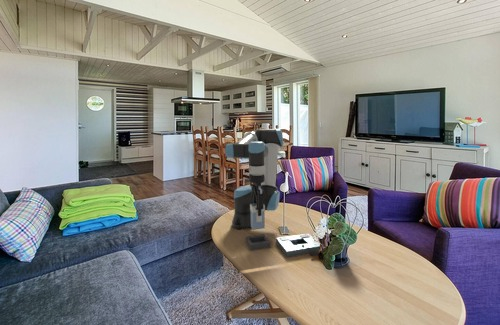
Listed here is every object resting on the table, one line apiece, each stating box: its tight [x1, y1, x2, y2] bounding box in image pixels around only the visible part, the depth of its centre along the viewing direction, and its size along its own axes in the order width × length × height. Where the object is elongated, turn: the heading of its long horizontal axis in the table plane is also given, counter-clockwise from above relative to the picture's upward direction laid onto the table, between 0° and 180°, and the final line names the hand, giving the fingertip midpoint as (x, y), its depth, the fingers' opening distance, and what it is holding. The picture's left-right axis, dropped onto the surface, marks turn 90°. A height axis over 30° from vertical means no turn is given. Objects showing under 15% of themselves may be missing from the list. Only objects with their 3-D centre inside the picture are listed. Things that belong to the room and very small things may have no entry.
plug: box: [250, 203, 266, 231], centre depth 128 cm, size 4×6×12 cm
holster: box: [245, 233, 271, 251], centre depth 130 cm, size 10×10×4 cm
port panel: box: [275, 233, 321, 258], centre depth 126 cm, size 14×18×5 cm
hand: (257, 219), depth 128 cm, fingers closed on plug, 4 cm apart
